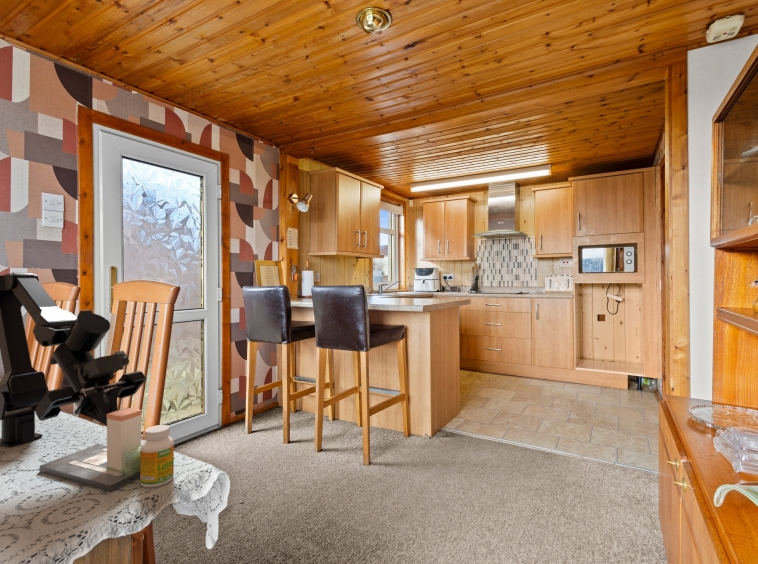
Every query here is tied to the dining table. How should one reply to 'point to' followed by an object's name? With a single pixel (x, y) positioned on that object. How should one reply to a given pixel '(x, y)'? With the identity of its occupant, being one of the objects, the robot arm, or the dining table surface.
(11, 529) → the dining table surface
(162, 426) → the supplement bottle
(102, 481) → the plate
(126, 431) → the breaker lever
